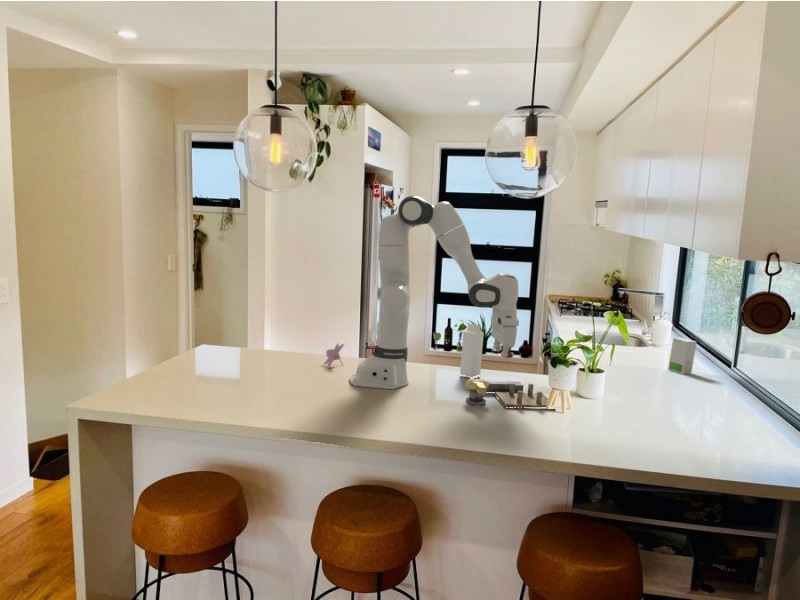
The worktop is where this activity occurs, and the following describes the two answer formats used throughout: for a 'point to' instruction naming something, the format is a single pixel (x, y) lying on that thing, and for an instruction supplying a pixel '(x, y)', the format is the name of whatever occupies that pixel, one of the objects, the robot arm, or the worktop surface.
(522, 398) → the peg rack
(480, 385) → the gold crumpled flat piece
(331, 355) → the lily
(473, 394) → the post
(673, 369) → the skincare box
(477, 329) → the milk
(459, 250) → the robot arm
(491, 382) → the grey rectangular bar
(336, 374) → the worktop surface
